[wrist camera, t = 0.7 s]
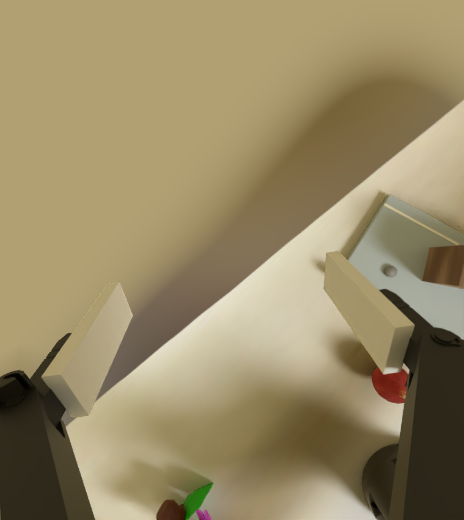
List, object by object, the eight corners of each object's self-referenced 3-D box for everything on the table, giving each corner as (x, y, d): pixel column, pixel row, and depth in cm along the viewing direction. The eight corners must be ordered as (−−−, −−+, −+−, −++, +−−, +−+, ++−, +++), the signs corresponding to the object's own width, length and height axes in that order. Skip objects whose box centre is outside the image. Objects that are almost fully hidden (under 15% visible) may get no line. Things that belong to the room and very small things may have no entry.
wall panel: (513, 265, 42) (534, 265, 39) (453, 351, 43) (469, 359, 40) (387, 196, 45) (396, 191, 41) (333, 280, 46) (338, 281, 43)
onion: (393, 354, 45) (422, 374, 37) (402, 385, 44) (433, 412, 36) (361, 360, 45) (382, 382, 37) (369, 391, 45) (392, 419, 37)
